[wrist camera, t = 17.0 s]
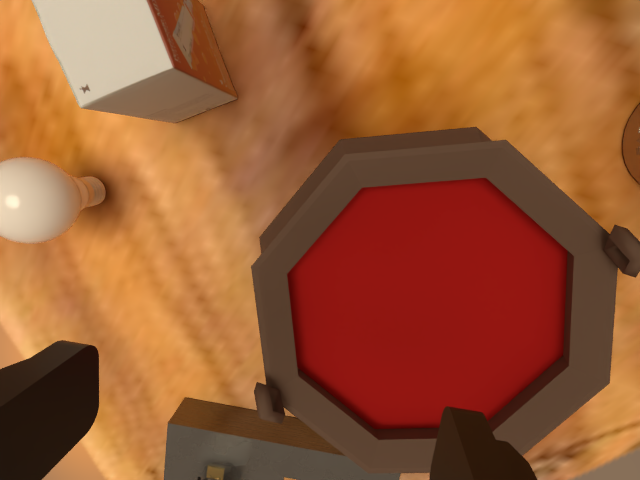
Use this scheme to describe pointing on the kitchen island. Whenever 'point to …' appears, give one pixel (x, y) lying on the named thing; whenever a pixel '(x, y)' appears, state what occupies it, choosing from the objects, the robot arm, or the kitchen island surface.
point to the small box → (138, 56)
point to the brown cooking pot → (433, 297)
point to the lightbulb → (42, 199)
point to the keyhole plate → (251, 448)
